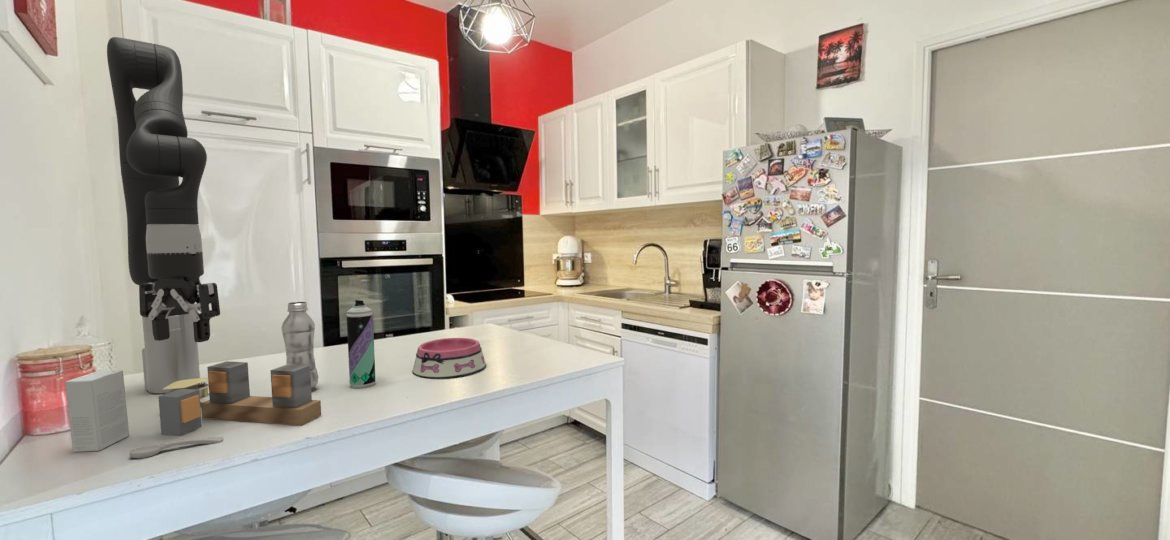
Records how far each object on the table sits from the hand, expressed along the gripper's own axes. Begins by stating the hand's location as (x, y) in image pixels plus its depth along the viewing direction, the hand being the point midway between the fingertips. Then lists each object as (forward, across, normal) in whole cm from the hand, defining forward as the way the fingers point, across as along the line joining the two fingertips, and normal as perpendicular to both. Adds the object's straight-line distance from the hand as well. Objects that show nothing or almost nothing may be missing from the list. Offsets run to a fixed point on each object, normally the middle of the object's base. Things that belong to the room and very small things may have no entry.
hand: (182, 340), depth 86 cm
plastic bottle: (+16, +5, +22) cm, 28 cm away
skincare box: (+17, -9, -8) cm, 20 cm away
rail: (+16, +8, +7) cm, 20 cm away
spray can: (+16, +16, +28) cm, 36 cm away
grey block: (+16, -1, -1) cm, 16 cm away
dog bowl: (+17, +30, +44) cm, 56 cm away
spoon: (+17, +6, -7) cm, 19 cm away
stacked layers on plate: (+17, -11, +9) cm, 22 cm away
